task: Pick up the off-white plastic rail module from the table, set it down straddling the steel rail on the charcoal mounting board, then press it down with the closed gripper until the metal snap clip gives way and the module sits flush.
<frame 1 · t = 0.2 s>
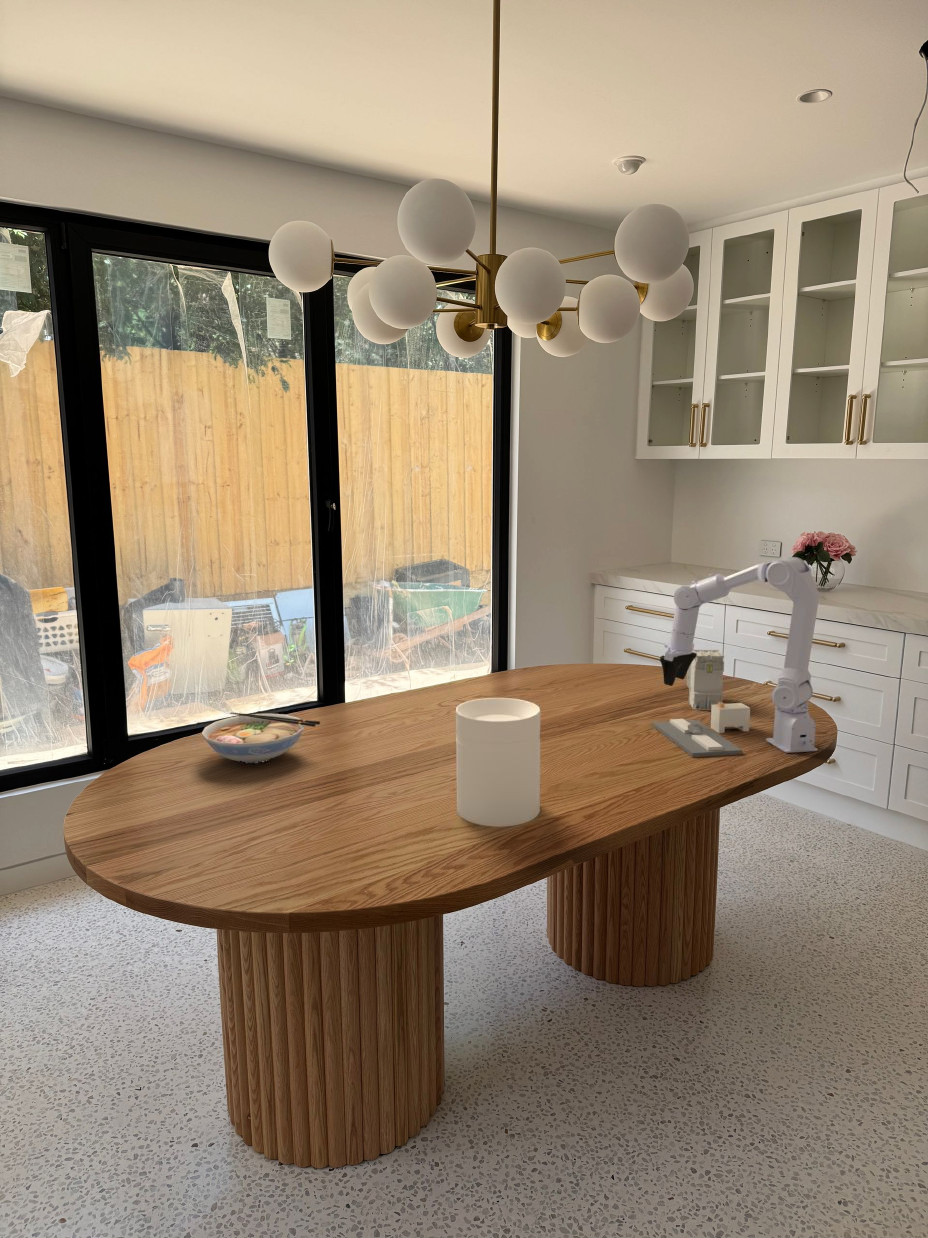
hand: (674, 681, 212), 11 cm above the table, fingers open, 7 cm apart
rail module: (729, 729, 206), on the table
ramen bowl: (255, 759, 188), on the table
circuit breaker: (702, 703, 230), on the table
din board: (694, 739, 199), on the table
canister: (498, 810, 158), on the table
snap clip: (695, 728, 198), point 3 cm above the table, slide at 0.0 cm
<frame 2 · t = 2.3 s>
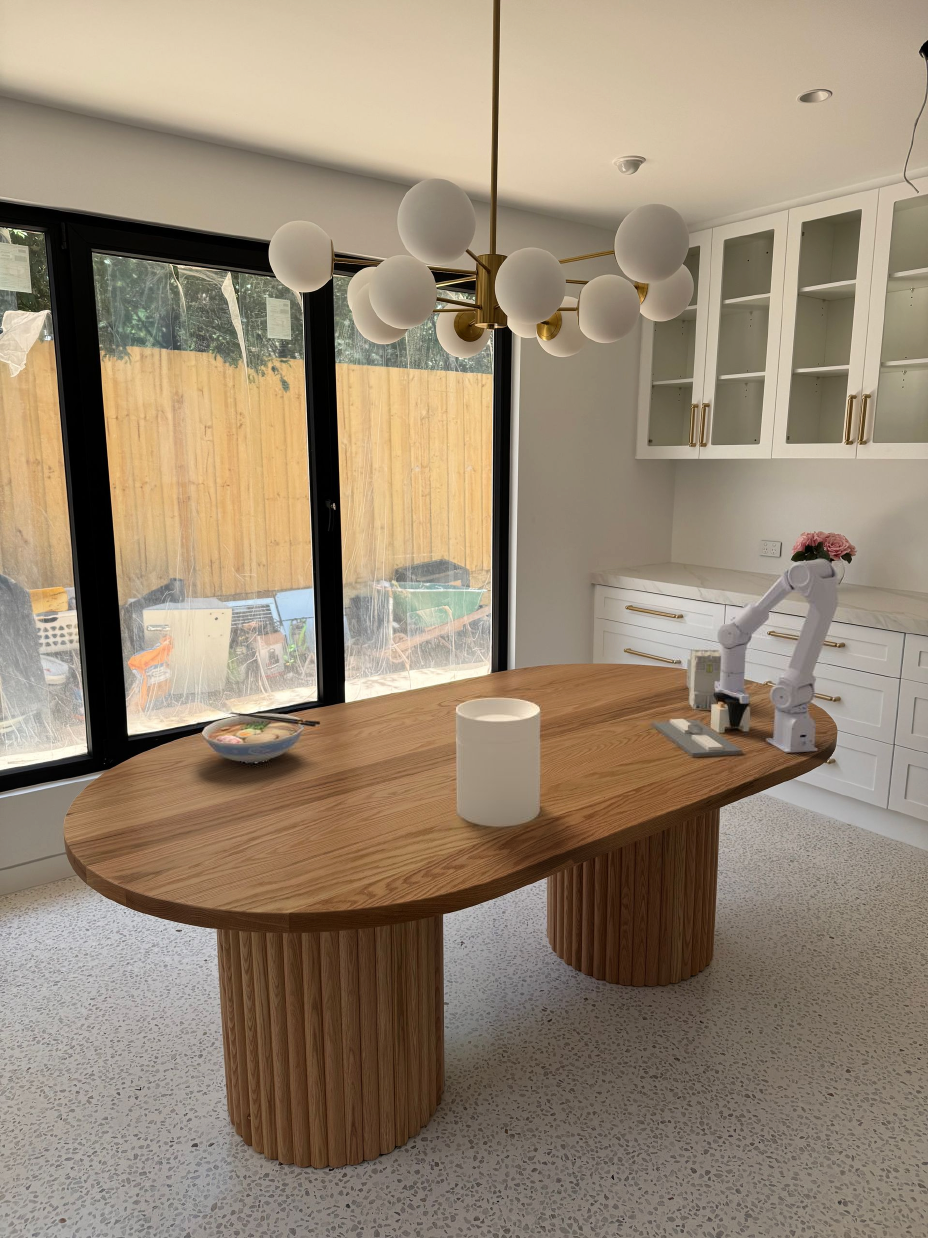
hand: (729, 723, 206), 1 cm above the table, fingers closed on rail module, 4 cm apart
rail module: (729, 729, 206), on the table, touching gripper
everything else where it was.
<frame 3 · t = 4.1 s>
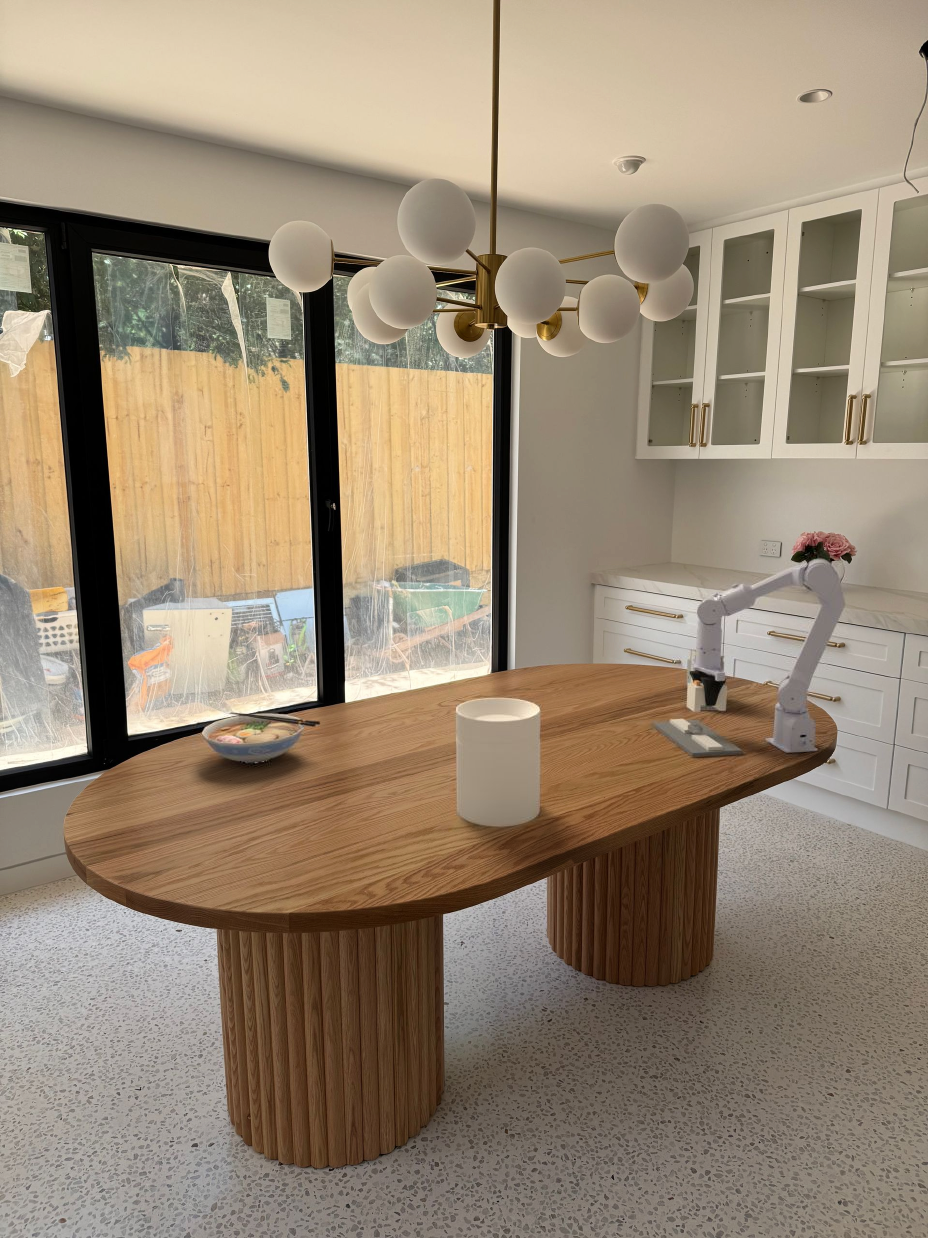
hand: (706, 702, 199), 8 cm above the table, fingers closed on rail module, 4 cm apart
rail module: (706, 708, 200), point 7 cm above the table, touching gripper
everything else where it was.
when the fingers open (4 cm above the table, at t = 6.0 s): rail module stays where it is, resting on snap clip.
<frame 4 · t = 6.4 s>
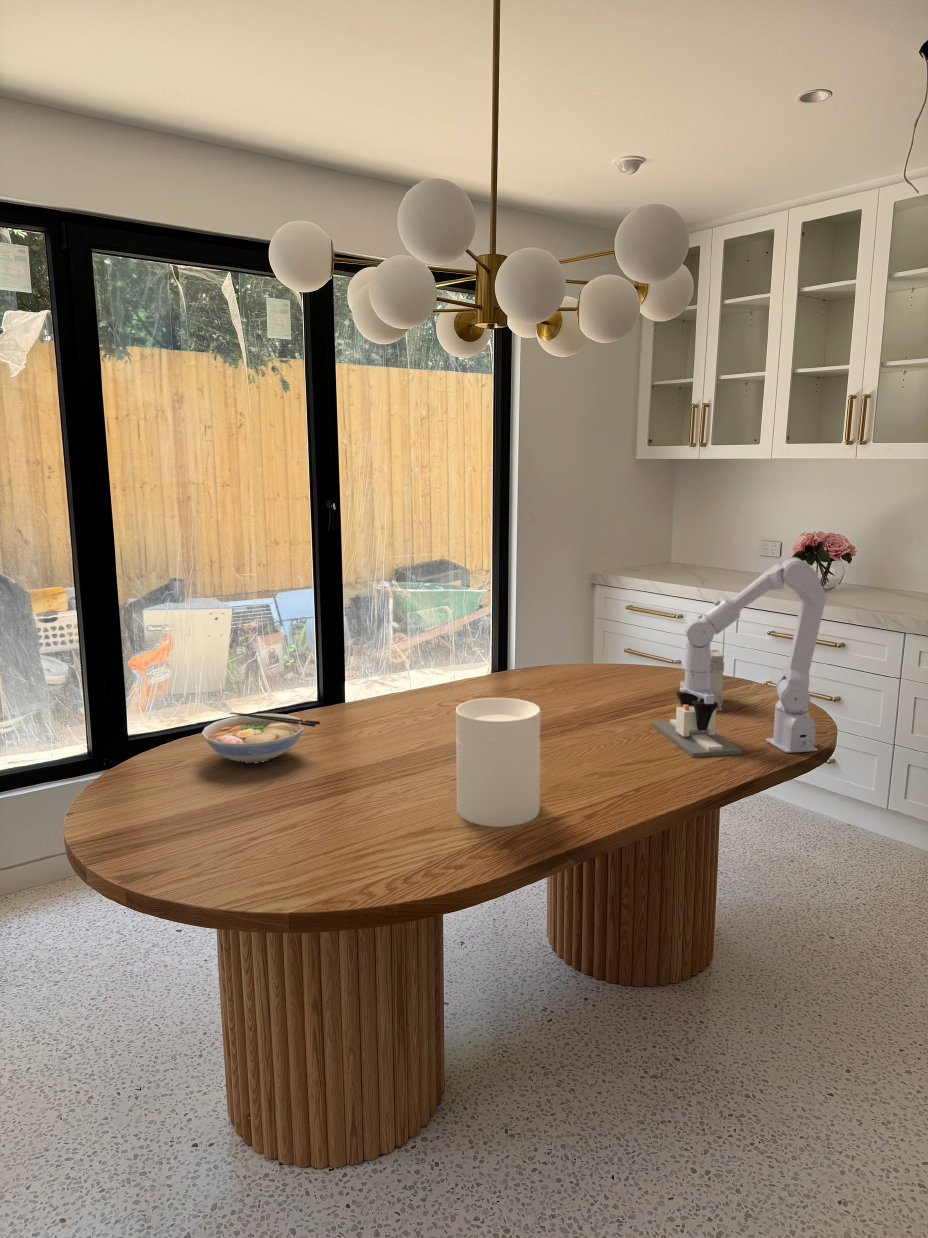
hand: (695, 725, 198), 4 cm above the table, fingers open, 7 cm apart
rail module: (695, 732, 198), point 2 cm above the table, touching snap clip
snap clip: (695, 729, 198), point 3 cm above the table, slide at -0.2 cm, touching rail module
everything else where it was.
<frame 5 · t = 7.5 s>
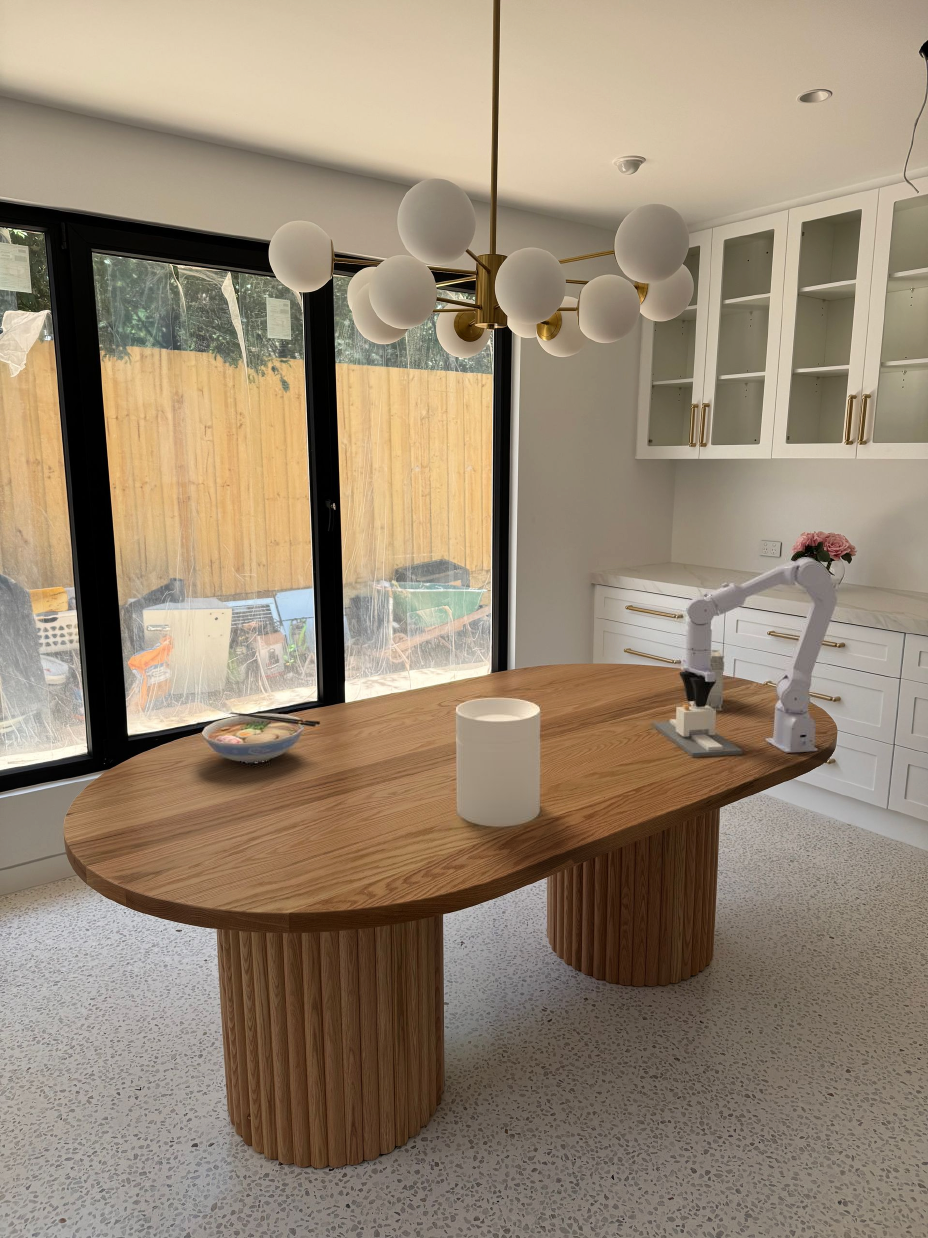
hand: (696, 703, 197), 9 cm above the table, fingers open, 4 cm apart
nothing on the table moved.
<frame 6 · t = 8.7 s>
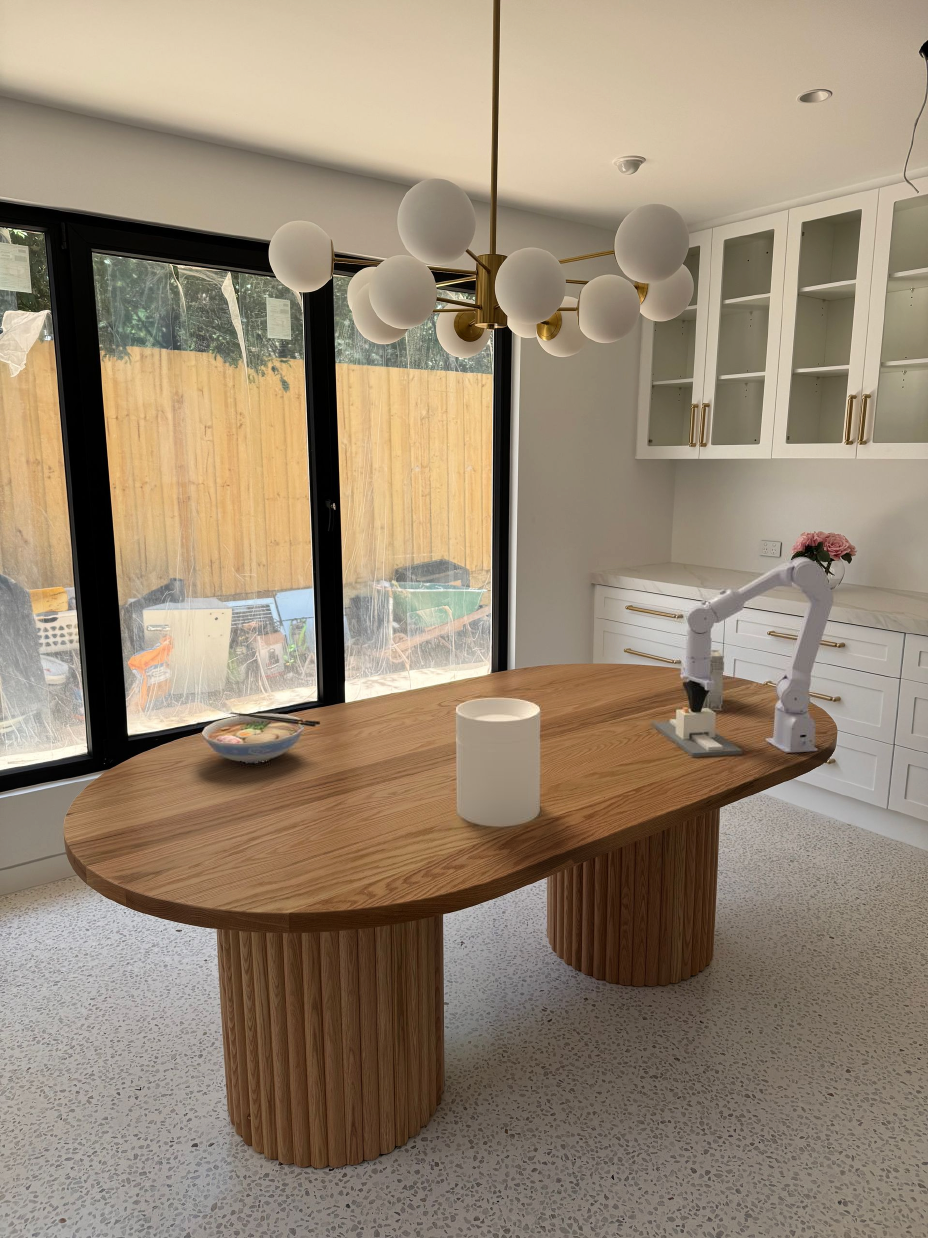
hand: (695, 711, 197), 7 cm above the table, fingers closed, pressing on rail module
rail module: (695, 735, 198), point 1 cm above the table, touching din board, gripper
snap clip: (695, 732, 198), point 2 cm above the table, slide at -0.8 cm
everything else where it was.
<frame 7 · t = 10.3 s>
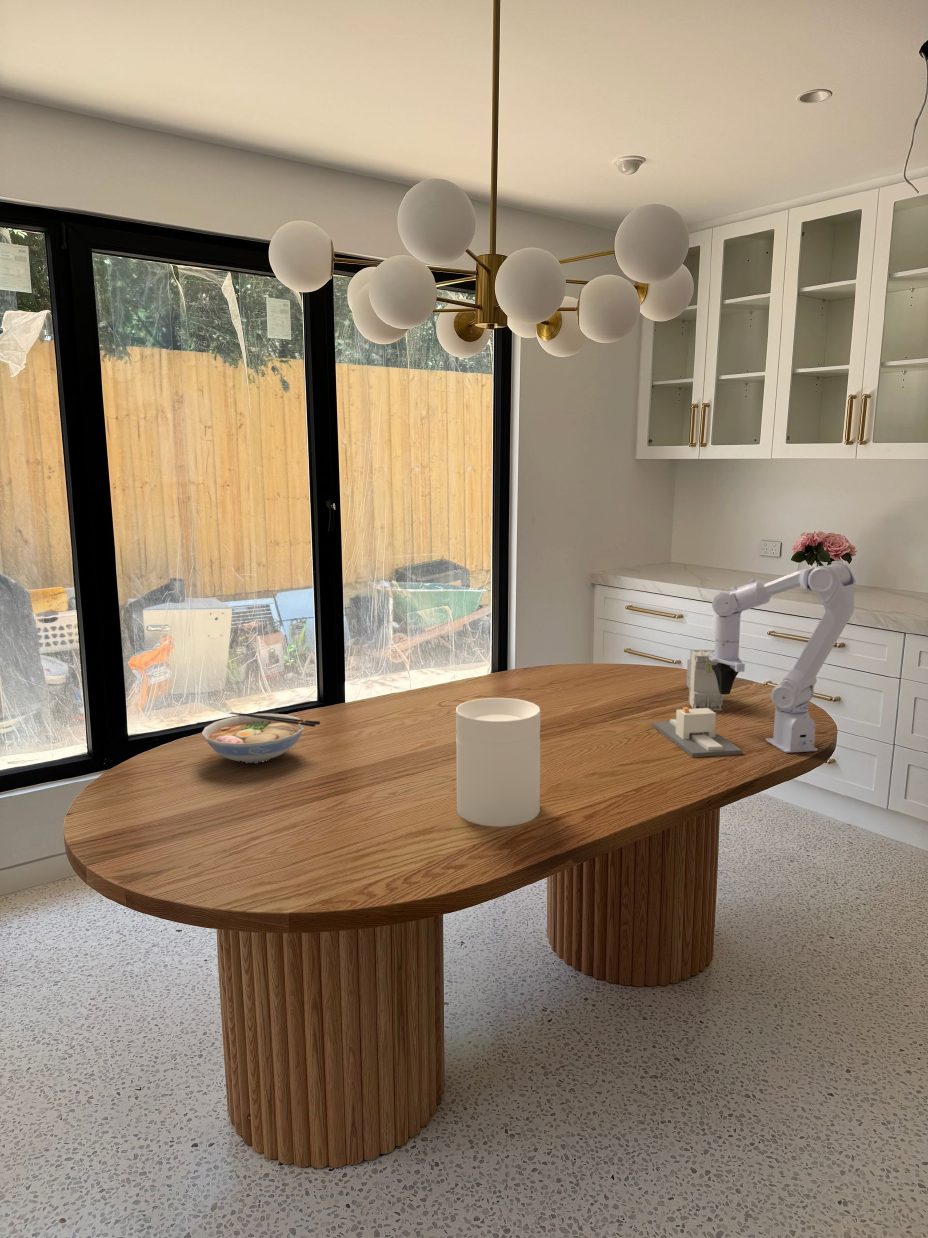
hand: (724, 693, 204), 9 cm above the table, fingers closed
rail module: (695, 735, 198), point 1 cm above the table, touching din board
everything else where it was.
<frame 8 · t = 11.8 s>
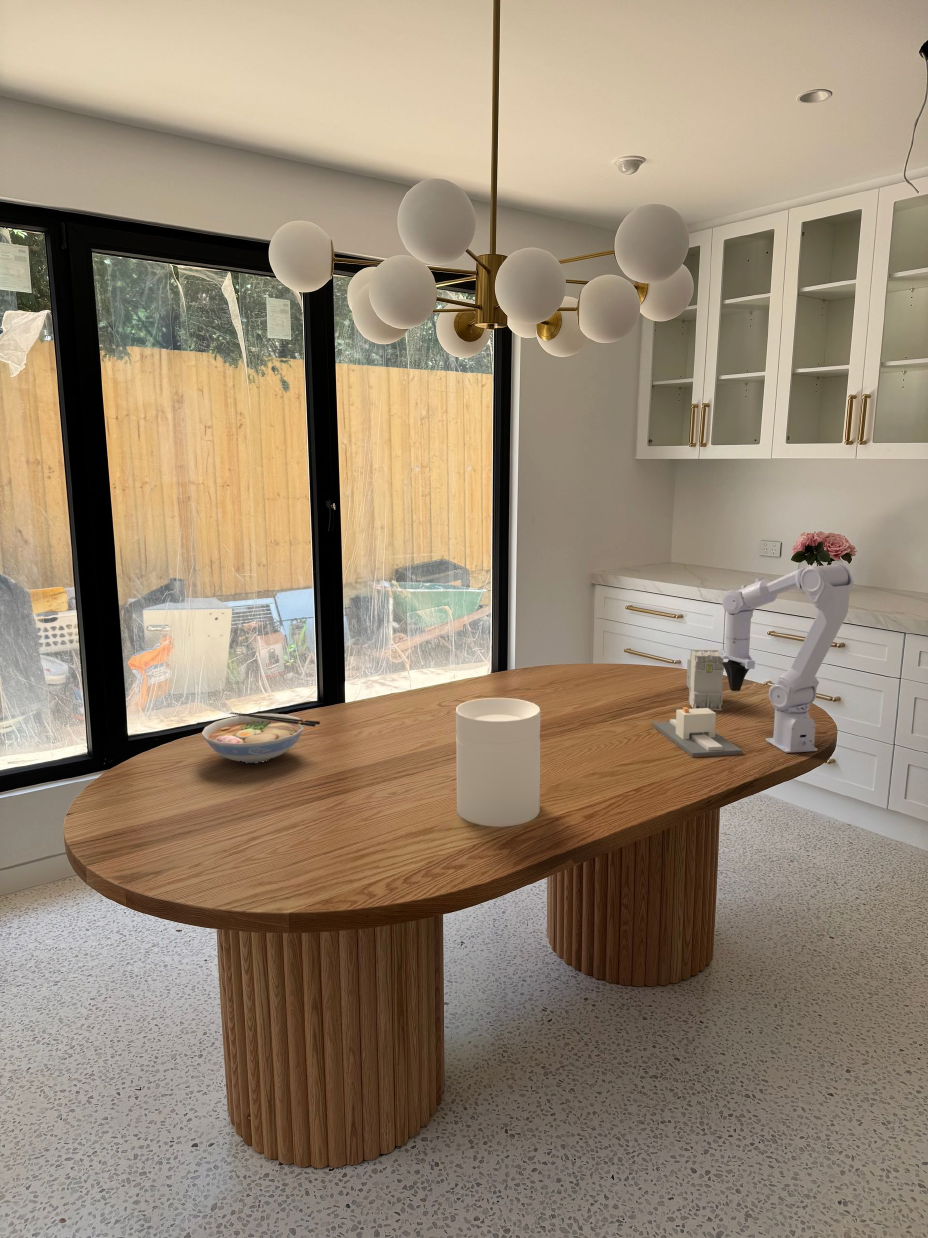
hand: (735, 690, 207), 9 cm above the table, fingers closed
nothing on the table moved.
at the end: snap clip slide at -0.8 cm; rail module 0.0 cm off-centre on the din board, point 1.0 cm above the din board's base; rail module tilted 0° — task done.
